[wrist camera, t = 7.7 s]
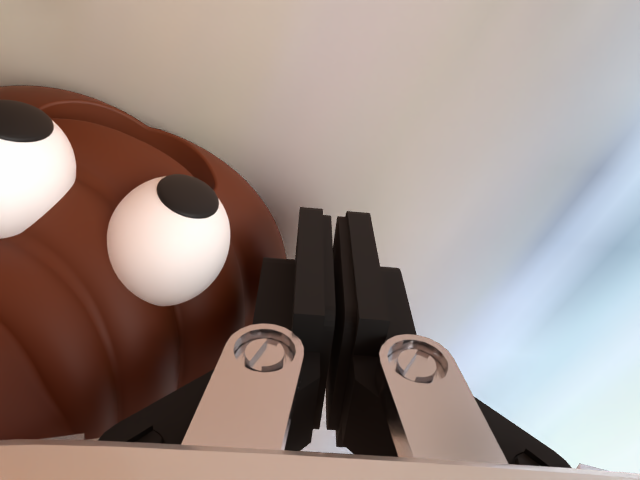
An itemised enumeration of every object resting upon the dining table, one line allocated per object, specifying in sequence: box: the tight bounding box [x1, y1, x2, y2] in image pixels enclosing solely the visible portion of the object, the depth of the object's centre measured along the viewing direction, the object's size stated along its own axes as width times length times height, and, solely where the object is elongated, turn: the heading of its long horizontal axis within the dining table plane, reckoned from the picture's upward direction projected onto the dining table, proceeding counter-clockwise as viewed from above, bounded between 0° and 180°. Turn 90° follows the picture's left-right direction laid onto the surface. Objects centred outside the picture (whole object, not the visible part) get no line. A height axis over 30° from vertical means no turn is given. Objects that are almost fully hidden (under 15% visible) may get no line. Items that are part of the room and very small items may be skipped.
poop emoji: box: [0, 86, 286, 440], centre depth 10 cm, size 10×8×9 cm
